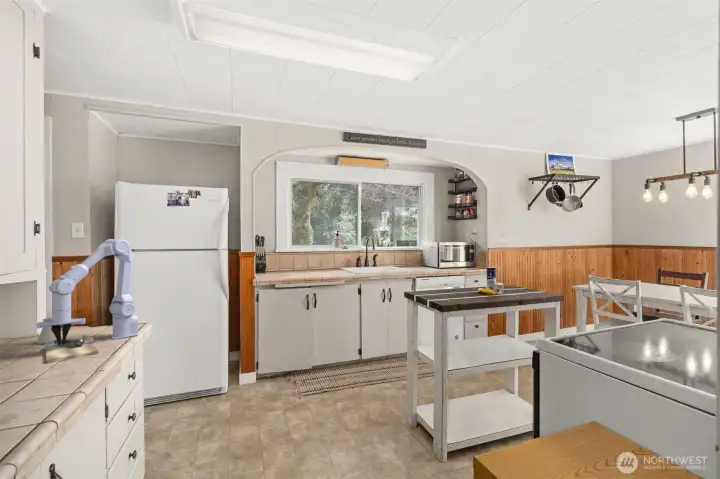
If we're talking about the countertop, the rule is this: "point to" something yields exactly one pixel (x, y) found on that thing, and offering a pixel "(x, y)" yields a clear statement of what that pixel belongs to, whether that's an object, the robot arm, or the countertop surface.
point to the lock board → (70, 350)
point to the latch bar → (71, 341)
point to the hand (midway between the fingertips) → (61, 343)
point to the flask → (46, 334)
